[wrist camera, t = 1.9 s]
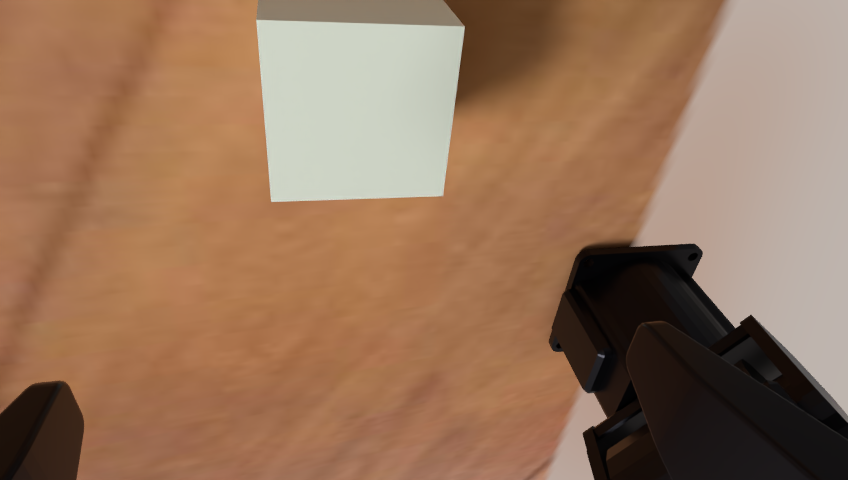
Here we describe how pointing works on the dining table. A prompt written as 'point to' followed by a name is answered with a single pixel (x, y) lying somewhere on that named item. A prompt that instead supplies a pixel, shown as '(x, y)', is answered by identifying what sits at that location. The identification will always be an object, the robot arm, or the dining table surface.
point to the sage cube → (358, 96)
